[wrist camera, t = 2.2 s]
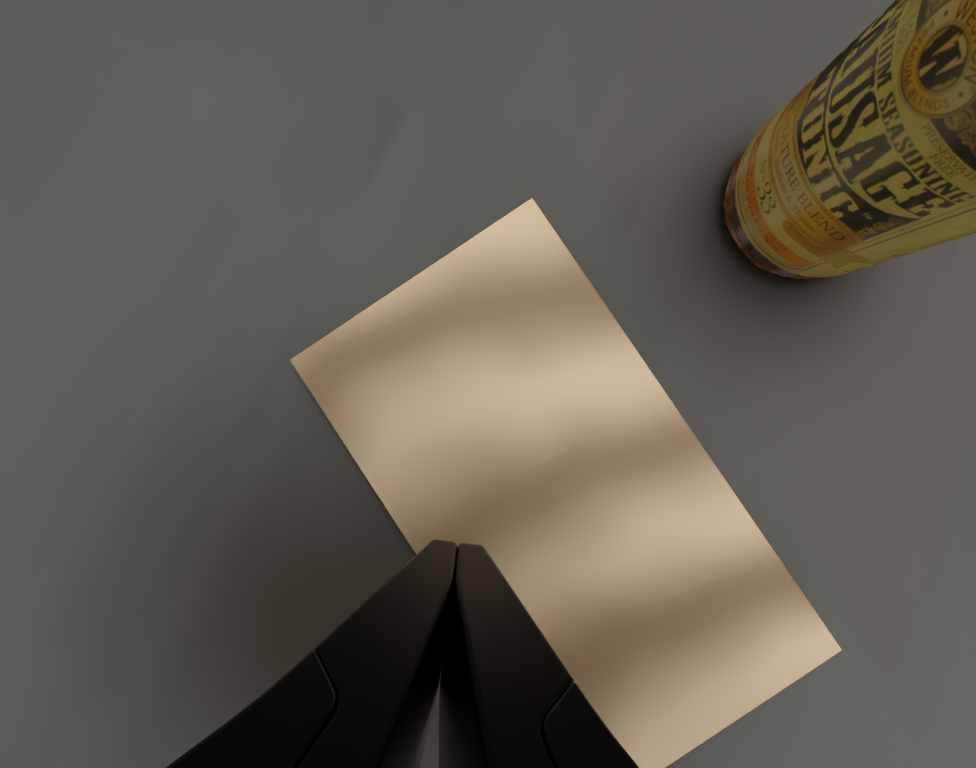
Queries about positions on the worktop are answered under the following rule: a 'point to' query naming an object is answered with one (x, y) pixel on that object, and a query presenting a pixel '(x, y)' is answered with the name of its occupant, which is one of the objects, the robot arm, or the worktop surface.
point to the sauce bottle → (867, 151)
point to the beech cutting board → (568, 485)
